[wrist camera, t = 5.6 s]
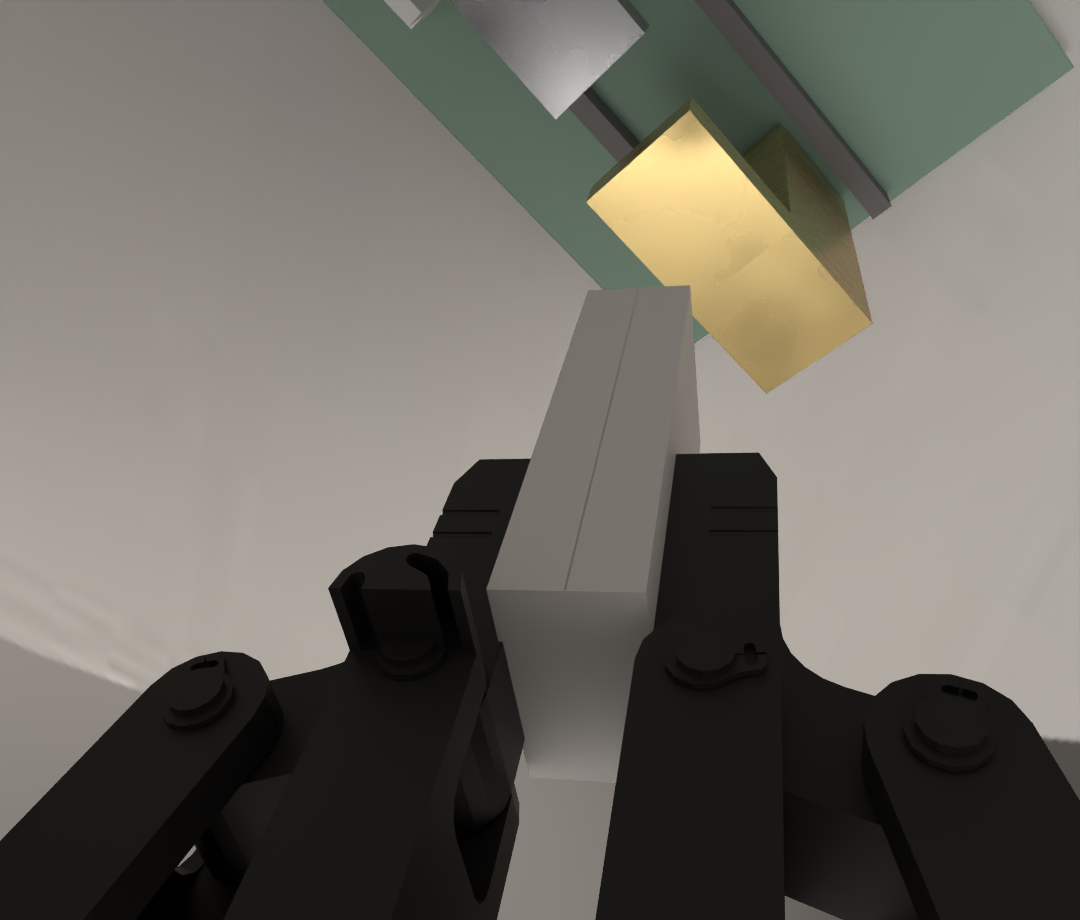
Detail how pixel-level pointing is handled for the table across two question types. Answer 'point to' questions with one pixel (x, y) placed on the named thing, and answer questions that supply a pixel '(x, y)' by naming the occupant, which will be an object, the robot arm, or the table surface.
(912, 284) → the table surface
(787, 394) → the table surface
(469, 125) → the board
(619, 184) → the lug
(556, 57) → the strap
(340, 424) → the table surface
